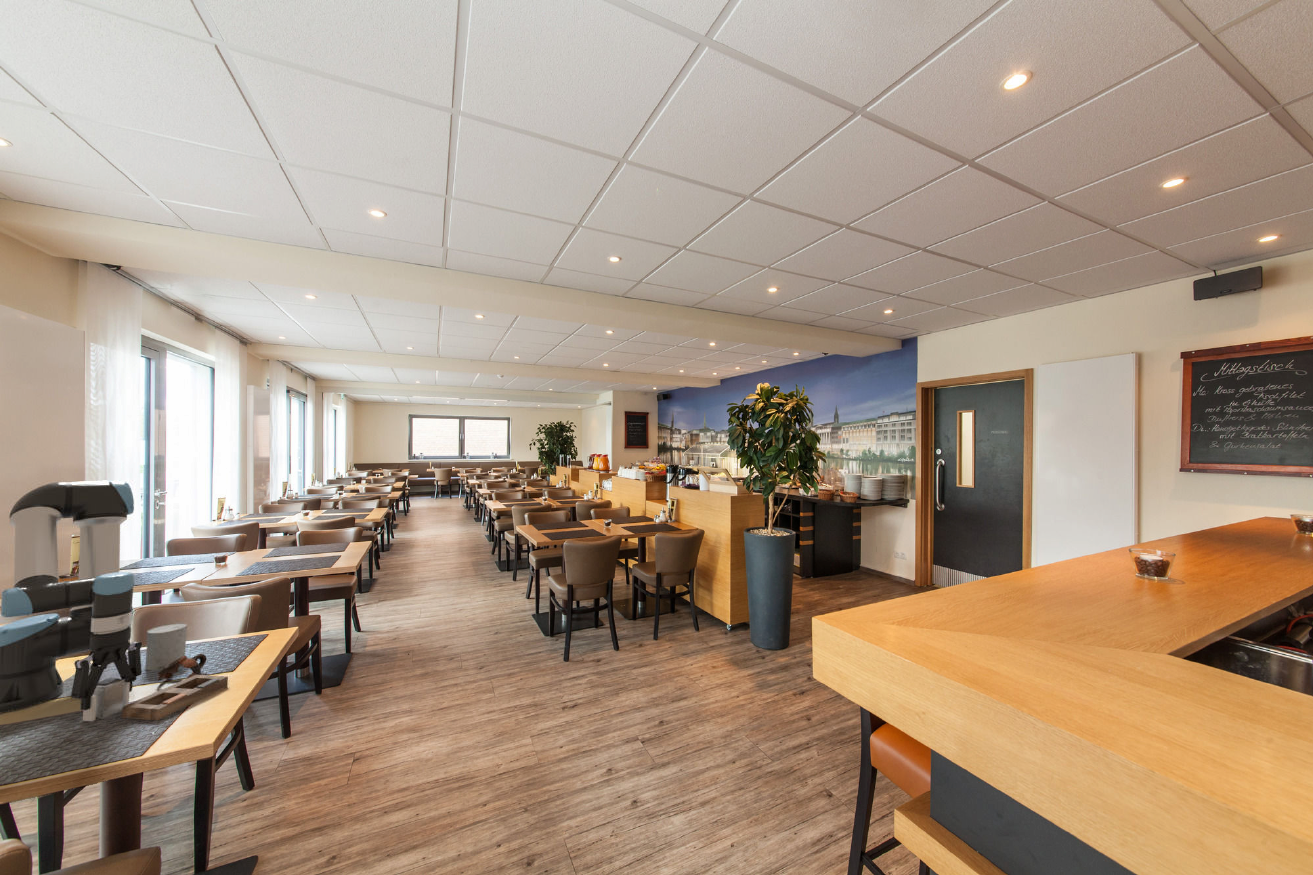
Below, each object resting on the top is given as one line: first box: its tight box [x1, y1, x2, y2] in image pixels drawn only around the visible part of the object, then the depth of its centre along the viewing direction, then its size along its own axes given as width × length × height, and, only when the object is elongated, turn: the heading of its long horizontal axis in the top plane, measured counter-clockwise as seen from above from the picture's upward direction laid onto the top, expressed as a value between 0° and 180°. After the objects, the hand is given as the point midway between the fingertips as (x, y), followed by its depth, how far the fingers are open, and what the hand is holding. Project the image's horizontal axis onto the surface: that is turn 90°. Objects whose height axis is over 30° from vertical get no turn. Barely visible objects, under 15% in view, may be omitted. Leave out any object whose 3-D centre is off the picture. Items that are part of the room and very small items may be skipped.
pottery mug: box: [156, 653, 207, 681], centre depth 151 cm, size 12×10×8 cm
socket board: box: [121, 674, 229, 721], centre depth 137 cm, size 11×19×3 cm, turn 175°
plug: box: [93, 677, 124, 719], centre depth 131 cm, size 4×4×9 cm
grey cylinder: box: [144, 622, 188, 671], centre depth 161 cm, size 10×10×12 cm
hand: (106, 712), depth 130 cm, fingers open, 7 cm apart
